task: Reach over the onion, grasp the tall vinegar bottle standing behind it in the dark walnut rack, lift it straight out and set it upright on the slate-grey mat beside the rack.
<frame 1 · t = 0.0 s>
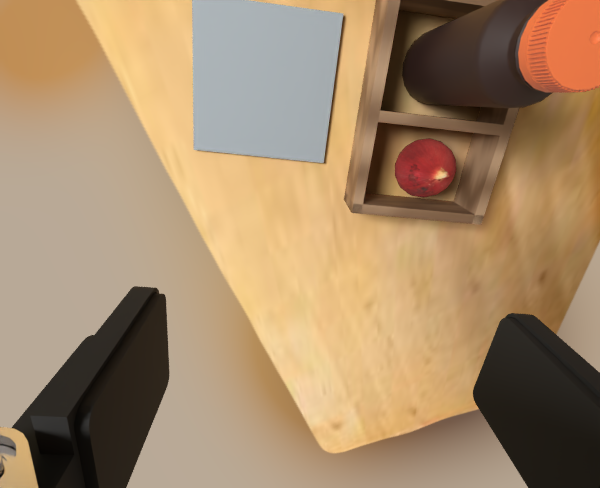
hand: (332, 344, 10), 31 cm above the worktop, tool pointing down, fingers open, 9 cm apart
vinegar: (433, 68, 36), resting in rack
rack: (423, 115, 37), on the worktop
onion: (411, 161, 39), resting in rack
mat: (264, 85, 35), on the worktop
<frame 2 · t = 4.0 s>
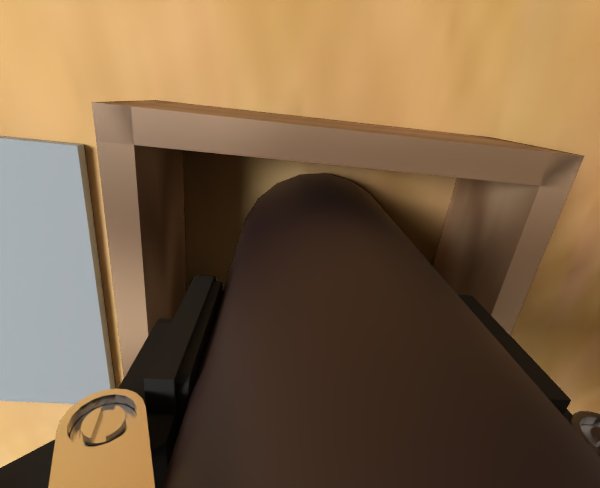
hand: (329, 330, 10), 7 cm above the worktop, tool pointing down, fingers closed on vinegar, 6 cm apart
vinegar: (313, 240, 17), resting in rack, touching gripper
rack: (303, 321, 18), on the worktop
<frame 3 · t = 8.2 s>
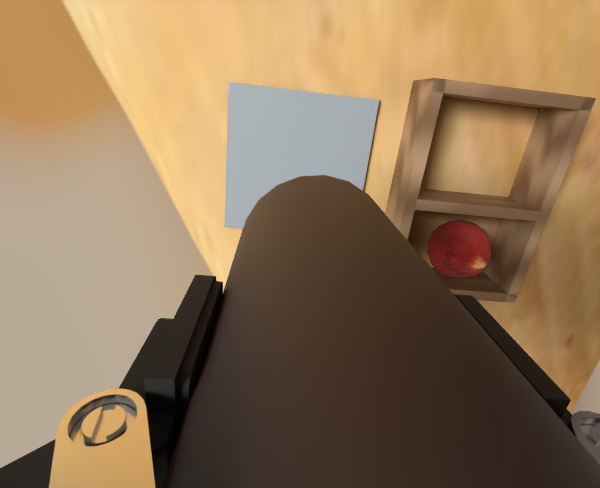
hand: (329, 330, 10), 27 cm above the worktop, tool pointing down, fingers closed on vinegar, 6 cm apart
vinegar: (313, 242, 17), point 20 cm above the worktop, touching gripper
rack: (455, 192, 37), on the worktop
onion: (442, 235, 39), resting in rack
mat: (297, 166, 35), on the worktop
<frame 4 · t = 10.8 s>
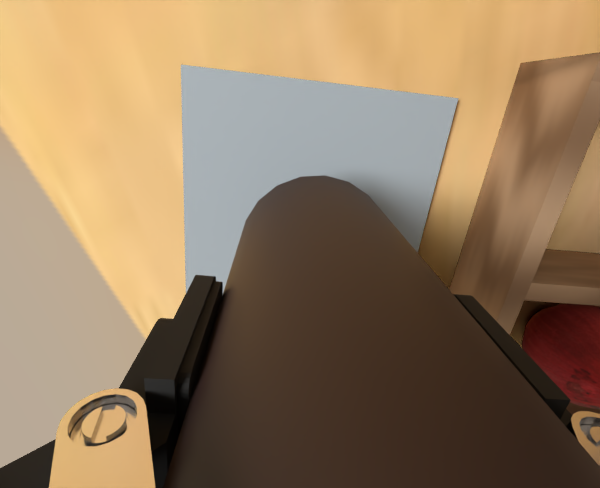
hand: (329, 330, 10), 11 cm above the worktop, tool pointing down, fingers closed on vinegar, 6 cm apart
vinegar: (313, 242, 17), point 4 cm above the worktop, touching gripper
rack: (568, 251, 22), on the worktop
onion: (537, 314, 24), resting in rack
mat: (307, 212, 21), on the worktop
when the fingers open (8 cm above the worktop, at t = 12.4 s): vinegar drops 1 cm, resting on mat.
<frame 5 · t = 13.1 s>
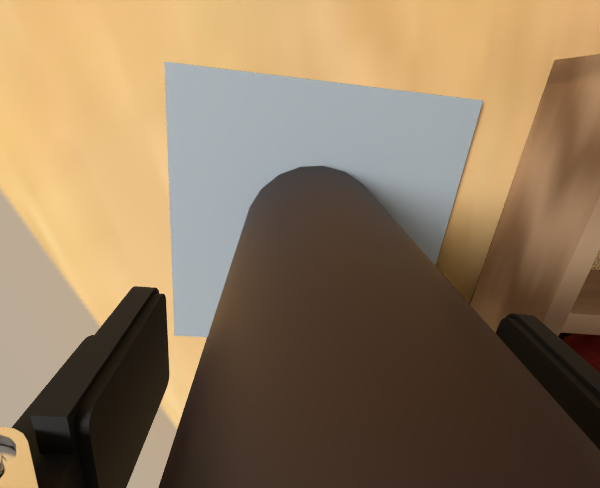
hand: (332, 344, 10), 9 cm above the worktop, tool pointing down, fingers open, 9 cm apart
vinegar: (312, 229, 18), resting on mat
onion: (563, 338, 22), resting in rack
mat: (309, 228, 18), on the worktop
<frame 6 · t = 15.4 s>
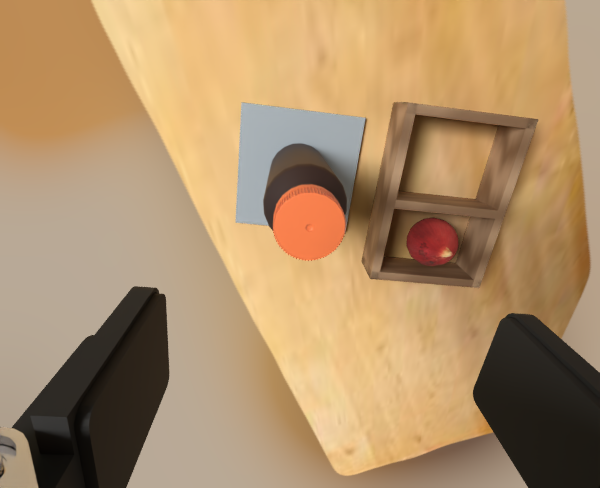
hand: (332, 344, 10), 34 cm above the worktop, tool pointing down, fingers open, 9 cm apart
vinegar: (298, 171, 42), resting on mat
rack: (430, 194, 44), on the worktop
onion: (420, 230, 46), resting in rack
mat: (297, 171, 42), on the worktop
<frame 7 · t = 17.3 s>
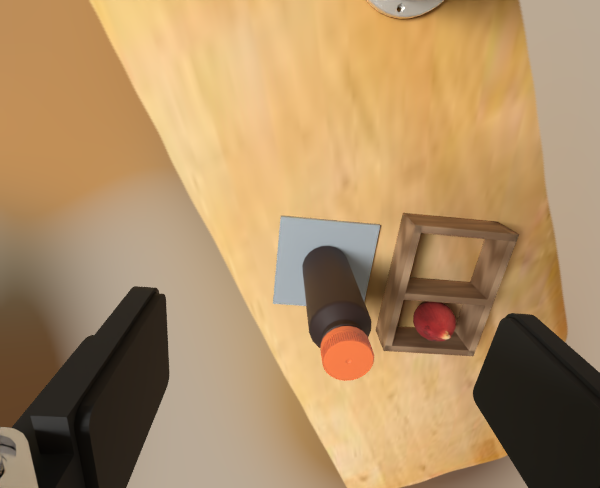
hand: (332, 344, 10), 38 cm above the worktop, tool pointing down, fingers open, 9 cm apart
vinegar: (325, 265, 51), resting on mat
rack: (432, 279, 53), on the worktop
onion: (424, 306, 55), resting in rack
mat: (324, 264, 52), on the worktop
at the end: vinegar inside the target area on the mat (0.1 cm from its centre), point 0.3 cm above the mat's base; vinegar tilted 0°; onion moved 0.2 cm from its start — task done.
